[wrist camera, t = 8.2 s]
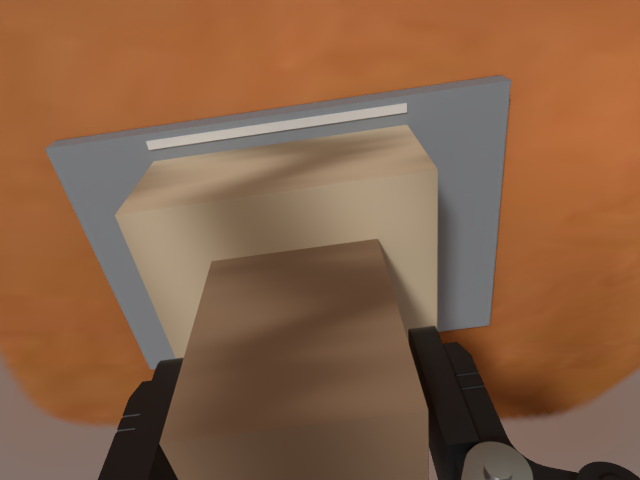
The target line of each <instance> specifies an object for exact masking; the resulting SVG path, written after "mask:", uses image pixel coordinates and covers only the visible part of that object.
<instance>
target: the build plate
mask: <svg viewBox="0 0 640 480" xmlns="http://www.w3.org/2000/svg"><path fill="white" fill-rule="evenodd" d="M510 84H511V80H510V79H508V78H506V77H504V76H502V75H499V76H492V77H485V78H479V79H472V80H465V81H458V82H451V83H445V84H438V85H431V86H424V87H418V88H411V89H404V90H397V91H391V92H384V93H377V94H370V95H363V96H357V97H350V98H343V99H336V100H330V101H323V102H316V103H309V104H302V105H296V106H289V107H282V108H275V109H269V110H262V111H255V112H248V113H242V114H235V115H228V116H221V117H214V118H208V119H201V120H194V121H187V122H181V123H174V124H167V125H160V126H153V127H147V128H140V129H133V130H126V131H120V132H113V133H106V134H99V135H93V136H86V137H79V138H72V139H65V140H59V141H55V142H53V143H52V144H51V145H49V146H48V147H47V148H45V150H46V152H47V154H48V156H49V159H50V161H51V163H52V165H53V167H54V169H55V171H56V173H57V175H58V177H59V179H60V182H61V184H62V186H63V188H64V190H65V192H66V194H67V196H68V198H69V200H70V202H71V205H72V207H73V209H74V211H75V213H76V215H77V217H78V219H79V221H80V223H81V225H82V228H83V230H84V232H85V234H86V236H87V238H88V240H89V242H90V244H91V246H92V248H93V251H94V253H95V255H96V257H97V259H98V261H99V263H100V265H101V267H102V269H103V271H104V273H105V276H106V278H107V280H108V282H109V284H110V286H111V288H112V290H113V292H114V294H115V296H116V299H117V301H118V303H119V305H120V307H121V309H122V311H123V313H124V315H125V317H126V319H127V322H128V324H129V326H130V328H131V330H132V332H133V334H134V336H135V338H136V340H137V342H138V345H139V347H140V349H141V351H142V353H143V355H144V357H145V359H146V361H147V363H148V365H149V368H150V369H156V367H157V364H158V363H159V362H160V361H161V360H169V359H176V358H175V355H174V353H173V351H172V348H171V346H170V344H169V341H168V339H167V337H166V334H165V332H164V329H163V327H162V325H161V322H160V320H159V318H158V315H157V313H156V311H155V308H154V306H153V304H152V301H151V299H150V297H149V294H148V292H147V290H146V287H145V285H144V283H143V280H142V278H141V276H140V273H139V271H138V269H137V266H136V264H135V262H134V259H133V257H132V255H131V252H130V250H129V248H128V245H127V243H126V241H125V238H124V236H123V234H122V231H121V229H120V227H119V224H118V222H117V220H116V217H115V214H116V213H117V211H118V210H119V209H120V207H121V206H122V204H123V203H124V202H125V200H126V199H127V198H128V196H129V195H130V193H131V192H132V191H133V189H134V188H135V186H136V185H137V184H138V182H139V181H140V180H141V178H142V177H143V175H144V174H145V173H146V171H147V170H148V168H149V167H150V166H151V164H152V163H153V162H154V161H160V160H167V159H174V158H181V157H188V156H194V155H201V154H208V153H215V152H222V151H229V150H236V149H243V148H250V147H257V146H263V145H270V144H277V143H284V142H291V141H298V140H305V139H312V138H319V137H325V136H332V135H339V134H346V133H353V132H360V131H367V130H374V129H381V128H387V127H394V126H401V125H408V127H409V128H410V130H411V131H412V133H413V134H414V135H415V137H416V138H417V140H418V141H419V143H420V144H421V146H422V147H423V149H424V150H425V152H426V153H427V154H428V156H429V157H430V159H431V160H432V162H433V163H434V165H435V166H436V168H437V169H438V245H437V331H438V332H441V331H449V330H457V329H464V328H472V327H480V326H488V325H490V314H491V303H492V291H493V280H494V268H495V257H496V245H497V234H498V222H499V211H500V199H501V188H502V176H503V165H504V153H505V142H506V130H507V119H508V107H509V96H510Z"/></svg>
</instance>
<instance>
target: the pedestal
mask: <svg viewBox="0 0 640 480" xmlns="http://www.w3.org/2000/svg"><path fill="white" fill-rule="evenodd" d="M115 217H116V220H117V222H118V224H119V227H120V229H121V231H122V234H123V236H124V238H125V241H126V243H127V245H128V248H129V250H130V252H131V255H132V257H133V259H134V262H135V264H136V266H137V269H138V271H139V273H140V276H141V278H142V280H143V283H144V285H145V287H146V290H147V292H148V294H149V297H150V299H151V301H152V304H153V306H154V308H155V311H156V313H157V315H158V318H159V320H160V322H161V325H162V327H163V329H164V332H165V334H166V337H167V339H168V341H169V344H170V346H171V348H172V351H173V353H174V355H175V358H176V359H177V358H184V355H185V352H186V348H187V345H188V341H189V338H190V334H191V331H192V327H193V324H194V320H195V317H196V313H197V310H198V306H199V303H200V299H201V296H202V292H203V289H204V285H205V282H206V278H207V275H208V271H209V268H210V265H211V261H217V260H224V259H232V258H239V257H246V256H254V255H261V254H268V253H276V252H283V251H291V250H298V249H305V248H313V247H320V246H327V245H335V244H342V243H349V242H357V241H364V240H372V239H378V241H379V245H380V248H381V251H382V255H383V258H384V262H385V265H386V268H387V272H388V275H389V279H390V282H391V285H392V289H393V292H394V296H395V299H396V302H397V306H398V309H399V313H400V316H401V319H402V323H403V326H404V330H405V333H406V336H407V340H408V330H409V329H413V328H421V327H428V326H435V327H436V329H437V245H438V169H437V168H436V166H435V165H434V163H433V162H432V160H431V159H430V157H429V156H428V154H427V153H426V152H425V150H424V149H423V147H422V146H421V144H420V143H419V141H418V140H417V138H416V137H415V135H414V134H413V133H412V131H411V130H410V128H409V127H408V125H401V126H394V127H387V128H381V129H374V130H367V131H360V132H353V133H346V134H339V135H332V136H325V137H319V138H312V139H305V140H298V141H291V142H284V143H277V144H270V145H263V146H257V147H250V148H243V149H236V150H229V151H222V152H215V153H208V154H201V155H194V156H188V157H181V158H174V159H167V160H160V161H154V162H153V163H152V164H151V166H150V167H149V168H148V170H147V171H146V173H145V174H144V175H143V177H142V178H141V180H140V181H139V182H138V184H137V185H136V186H135V188H134V189H133V191H132V192H131V193H130V195H129V196H128V198H127V199H126V200H125V202H124V203H123V204H122V206H121V207H120V209H119V210H118V211H117V213H116V214H115ZM408 343H409V342H408Z"/></svg>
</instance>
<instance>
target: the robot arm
mask: <svg viewBox="0 0 640 480" xmlns="http://www.w3.org/2000/svg"><path fill="white" fill-rule="evenodd" d="M408 342H409V347H410V350H411V353H412V357H413V360H414V364H415V367H416V370H417V374H418V377H419V381H420V384H421V387H422V391H423V394H424V398H425V401H426V404H427V408H428V439H429V448H430V451H431V455H432V459H433V462H434V466H435V470H436V473H437V477H438V480H640V478H639V477H638V476H636V475H635V474H634V473H632V472H631V471H629V470H627V469H625V468H623V467H621V466H619V465H616V464H613V463H608V462H592V463H590V464H587V465H586V466H584V467H583V468H582V469H581V470H580V471H579V473H576V472H571V471H566V470H561V469H555V468H550V467H546V466H542V465H540V464H537V463H535V462H533V461H531V460H529V459H527V458H526V457H524V456H523V455H522V454H521V453H519V452H518V451H517V450H516V449H515V448H514V447H513V445H512V444H511V443H510V441H509V439H508V437H507V435H506V433H505V431H504V428H503V426H502V424H501V422H500V419H499V417H498V415H497V413H496V410H495V408H494V406H493V404H492V401H491V399H490V397H489V395H488V392H487V390H486V388H485V387H484V383H483V381H482V379H481V377H480V374H478V370H477V368H476V365H475V363H474V361H473V359H472V356H471V355H470V354H469V353H468V352H467V351H466V350H465V349H464V348H463V347H462V346H461V345H460V344H459V343H458V342H454V343H446V344H442V341H441V339H440V336H439V334H438V331H437V329H436V327H435V326H428V327H421V328H413V329H409V330H408ZM183 359H184V358H177V359H169V360H161V361H160V362H159V363H158V364H157V367H156V370H155V373H154V375H153V378H152V381H145V382H142V383H141V384H140V385H139V387H138V388H137V389H136V390H135V392H134V393H133V394H132V395H131V396H130V398H129V400H128V403H127V405H126V408H125V411H124V413H123V418H122V419H121V421H120V423H119V426H118V429H117V430H118V432H117V433H116V434H115V436H114V439H113V442H112V444H111V447H110V449H109V452H108V455H107V457H106V460H105V462H104V465H103V468H102V470H101V473H100V476H99V478H98V480H178V478H177V476H176V474H175V472H174V471H173V469H172V467H171V465H170V463H169V461H168V459H167V457H166V455H165V453H164V452H163V450H162V448H161V446H160V444H159V442H160V439H161V435H162V432H163V428H164V425H165V421H166V418H167V414H168V411H169V408H170V404H171V401H172V397H173V394H174V390H175V387H176V383H177V380H178V376H179V373H180V369H181V366H182V362H183Z"/></svg>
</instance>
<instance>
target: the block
mask: <svg viewBox="0 0 640 480" xmlns="http://www.w3.org/2000/svg"><path fill="white" fill-rule="evenodd" d="M159 444H160V446H161V448H162V450H163V452H164V453H165V455H166V457H167V459H168V461H169V463H170V465H171V467H172V469H173V471H174V472H175V474H176V476H177V478H178V480H429V451H428V450H429V439H428V408H427V404H426V401H425V398H424V394H423V391H422V387H421V384H420V381H419V377H418V374H417V370H416V367H415V364H414V360H413V357H412V353H411V350H410V347H409V343H408V340H407V336H406V333H405V330H404V326H403V323H402V319H401V316H400V313H399V309H398V306H397V302H396V299H395V296H394V292H393V289H392V285H391V282H390V279H389V275H388V272H387V268H386V265H385V262H384V258H383V255H382V251H381V248H380V245H379V241H378V239H372V240H364V241H357V242H349V243H342V244H335V245H327V246H320V247H313V248H305V249H298V250H291V251H283V252H276V253H268V254H261V255H254V256H246V257H239V258H232V259H224V260H217V261H211V265H210V268H209V271H208V275H207V278H206V282H205V285H204V289H203V292H202V296H201V299H200V303H199V306H198V310H197V313H196V317H195V320H194V324H193V327H192V331H191V334H190V338H189V341H188V345H187V348H186V352H185V355H184V359H183V362H182V366H181V369H180V373H179V376H178V380H177V383H176V387H175V390H174V394H173V397H172V401H171V404H170V408H169V411H168V414H167V418H166V421H165V425H164V428H163V432H162V435H161V439H160V442H159Z"/></svg>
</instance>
